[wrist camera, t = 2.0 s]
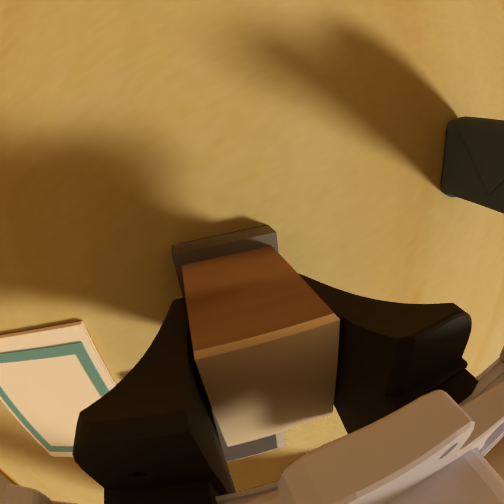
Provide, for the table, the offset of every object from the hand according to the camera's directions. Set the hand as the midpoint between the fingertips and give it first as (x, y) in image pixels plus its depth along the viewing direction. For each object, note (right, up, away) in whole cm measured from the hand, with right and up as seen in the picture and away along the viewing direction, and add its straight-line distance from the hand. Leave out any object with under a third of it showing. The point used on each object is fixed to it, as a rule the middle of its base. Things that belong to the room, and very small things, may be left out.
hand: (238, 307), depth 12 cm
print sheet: (-11, -7, +1) cm, 13 cm away
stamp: (0, +1, +1) cm, 2 cm away
